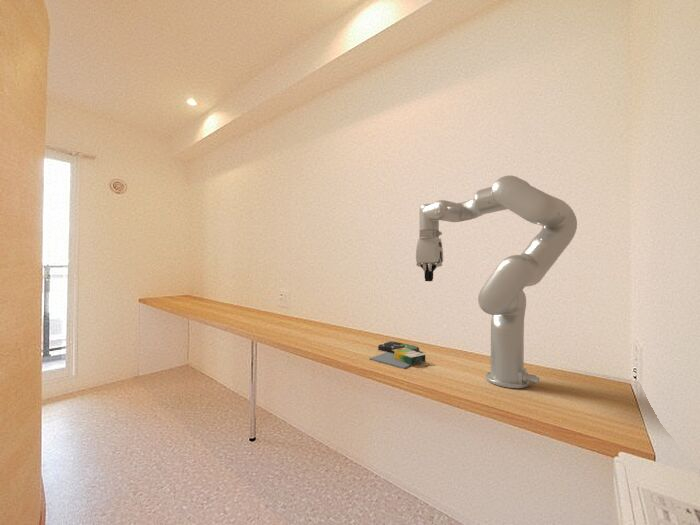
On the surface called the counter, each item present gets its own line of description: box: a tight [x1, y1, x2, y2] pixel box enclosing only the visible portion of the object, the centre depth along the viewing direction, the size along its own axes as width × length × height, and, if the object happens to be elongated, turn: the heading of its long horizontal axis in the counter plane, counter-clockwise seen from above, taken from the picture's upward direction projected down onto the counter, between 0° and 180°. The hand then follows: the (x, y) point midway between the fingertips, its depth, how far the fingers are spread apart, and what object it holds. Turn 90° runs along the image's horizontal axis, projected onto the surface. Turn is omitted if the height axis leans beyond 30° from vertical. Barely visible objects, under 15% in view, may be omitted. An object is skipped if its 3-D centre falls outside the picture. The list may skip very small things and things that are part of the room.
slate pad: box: [369, 352, 415, 370], centre depth 120 cm, size 16×12×1 cm
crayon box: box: [392, 348, 426, 366], centre depth 119 cm, size 7×3×12 cm
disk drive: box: [377, 340, 420, 354], centre depth 134 cm, size 10×3×15 cm
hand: (428, 281), depth 122 cm, fingers closed
